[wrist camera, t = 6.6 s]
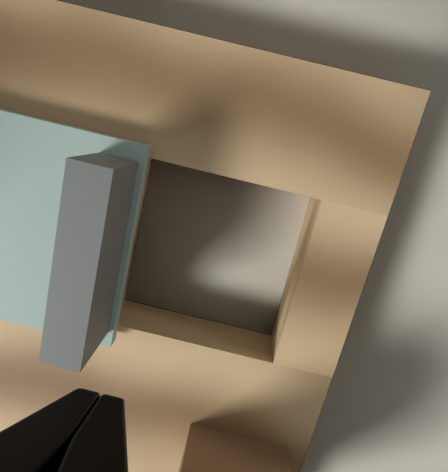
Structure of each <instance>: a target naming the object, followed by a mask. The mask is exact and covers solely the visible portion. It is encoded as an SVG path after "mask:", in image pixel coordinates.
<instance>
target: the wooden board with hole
mask: <svg viewBox="0 0 448 472" xmlns="http://www.w3.org/2000/svg"><path fill="white" fill-rule="evenodd" d="M430 92H431V91H429V90H425V89H420V88H416V87H412V86H408V85H404V84H400V83H396V82H392V81H387V80H383V79H379V78H375V77H371V76H367V75H363V74H359V73H354V72H350V71H346V70H342V69H338V68H334V67H330V66H326V65H321V64H317V63H313V62H309V61H305V60H301V59H297V58H293V57H288V56H284V55H280V54H276V53H272V52H268V51H264V50H260V49H255V48H251V47H247V46H243V45H239V44H235V43H231V42H227V41H222V40H218V39H214V38H210V37H206V36H202V35H198V34H194V33H189V32H185V31H181V30H177V29H173V28H169V27H165V26H161V25H156V24H152V23H148V22H144V21H140V20H136V19H132V18H128V17H123V16H119V15H115V14H111V13H107V12H103V11H99V10H95V9H90V8H86V7H82V6H78V5H74V4H70V3H66V2H62V1H57V0H0V109H5V110H9V111H13V112H17V113H21V114H25V115H29V116H33V117H37V118H42V119H46V120H50V121H54V122H58V123H62V124H66V125H70V126H74V127H79V128H83V129H87V130H91V131H95V132H99V133H103V134H107V135H111V136H116V137H120V138H124V139H128V140H132V141H136V142H140V143H144V144H148V145H151V150H150V156H149V161H148V166H147V172H146V177H145V183H144V188H143V193H142V199H141V204H140V210H139V215H138V220H137V226H136V231H135V237H134V242H133V247H132V253H131V258H130V263H129V269H128V274H127V280H126V285H125V290H124V296H123V301H122V307H121V312H120V317H119V323H118V328H117V334H116V339H115V341H114V343H113V344H112V346H111V347H108V346H104V345H99V346H98V348H97V349H96V351H95V352H94V353H93V355H92V356H91V358H90V359H89V361H88V362H87V363H86V365H85V366H84V368H83V369H82V371H81V372H75V371H71V370H67V369H63V368H59V367H55V366H51V365H47V364H43V363H39V356H40V348H41V341H42V333H43V331H42V330H38V329H34V328H30V327H26V326H22V325H18V324H14V323H10V322H6V321H2V320H0V431H2V430H4V429H6V428H8V427H9V426H11V425H13V424H15V423H16V422H18V421H20V420H22V419H24V418H25V417H27V416H29V415H31V414H32V413H34V412H36V411H38V410H40V409H41V408H43V407H45V406H47V405H48V404H50V403H52V402H54V401H56V400H57V399H59V398H61V397H63V396H64V395H66V394H68V393H70V392H72V391H73V390H75V389H78V388H83V389H87V390H91V391H95V392H98V393H99V394H100V396H101V395H104V394H107V395H111V396H115V397H119V398H122V399H124V402H125V418H126V436H127V455H128V472H178V471H179V467H180V463H181V459H182V456H183V452H184V448H185V444H186V440H187V436H188V432H189V428H190V424H193V425H197V426H201V427H206V428H210V429H214V430H218V431H222V432H226V433H230V434H234V435H238V436H242V437H246V438H250V439H255V440H259V441H263V442H267V443H271V444H275V445H279V446H283V447H287V448H289V455H290V463H291V472H300V470H301V467H302V464H303V461H304V458H305V455H306V453H307V450H308V447H309V444H310V441H311V438H312V435H313V432H314V429H315V426H316V424H317V421H318V418H319V415H320V412H321V409H322V406H323V403H324V400H325V397H326V394H327V392H328V389H329V386H330V383H331V380H332V377H333V374H334V371H335V368H336V365H337V362H338V360H339V357H340V354H341V351H342V348H343V345H344V342H345V339H346V336H347V333H348V330H349V328H350V325H351V322H352V319H353V316H354V313H355V310H356V307H357V304H358V301H359V298H360V296H361V293H362V290H363V287H364V284H365V281H366V278H367V275H368V272H369V269H370V266H371V264H372V261H373V258H374V255H375V252H376V249H377V246H378V243H379V240H380V237H381V234H382V232H383V229H384V226H385V223H386V220H387V217H388V214H389V211H390V208H391V205H392V203H393V200H394V197H395V194H396V191H397V188H398V185H399V182H400V179H401V176H402V173H403V171H404V168H405V165H406V162H407V159H408V156H409V153H410V150H411V147H412V144H413V141H414V139H415V136H416V133H417V130H418V127H419V124H420V121H421V118H422V115H423V112H424V109H425V107H426V104H427V101H428V98H429V95H430ZM152 159H156V160H160V161H164V162H168V163H172V164H176V165H180V166H184V167H188V168H193V169H197V170H201V171H205V172H209V173H213V174H217V175H221V176H225V177H230V178H234V179H238V180H242V181H246V182H250V183H254V184H258V185H262V186H267V187H271V188H275V189H279V190H283V191H287V192H291V193H295V194H299V195H304V196H308V197H311V199H310V203H309V206H308V210H307V213H306V216H305V220H304V223H303V227H302V230H301V234H300V237H299V240H298V244H297V247H296V251H295V254H294V258H293V261H292V264H291V268H290V271H289V275H288V278H287V282H286V285H285V288H284V292H283V295H282V299H281V302H280V306H279V309H278V312H277V316H276V319H275V323H274V326H273V330H272V333H271V336H270V335H266V334H262V333H258V332H254V331H250V330H246V329H242V328H238V327H234V326H229V325H225V324H221V323H217V322H213V321H209V320H205V319H201V318H197V317H193V316H189V315H184V314H180V313H176V312H172V311H168V310H164V309H160V308H156V307H152V306H148V305H144V304H139V303H135V302H131V301H127V300H125V299H126V293H127V288H128V283H129V277H130V272H131V266H132V261H133V256H134V250H135V245H136V240H137V234H138V229H139V224H140V218H141V213H142V208H143V202H144V197H145V192H146V186H147V181H148V176H149V170H150V165H151V160H152Z"/></svg>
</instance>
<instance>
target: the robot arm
mask: <svg viewBox="0 0 448 472" xmlns="http://www.w3.org/2000/svg"><path fill="white" fill-rule="evenodd" d="M0 472H128V455H127V436H126V418H125V402H124V399H122V398H119V397H115V396H111V395H107V394H104V395H101V396H100V394H99V393H98V392H95V391H91V390H87V389H83V388H78V389H75V390H73V391H72V392H70V393H68V394H66V395H64V396H63V397H61V398H59V399H57V400H56V401H54V402H52V403H50V404H48V405H47V406H45V407H43V408H41V409H40V410H38V411H36V412H34V413H32V414H31V415H29V416H27V417H25V418H24V419H22V420H20V421H18V422H16V423H15V424H13V425H11V426H9V427H8V428H6V429H4V430H2V431H0Z"/></svg>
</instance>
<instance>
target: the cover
mask: <svg viewBox="0 0 448 472" xmlns="http://www.w3.org/2000/svg"><path fill="white" fill-rule="evenodd" d="M150 150H151V145H148V144H144V143H140V142H136V141H132V140H128V139H124V138H120V137H116V136H111V135H107V134H103V133H99V132H95V131H91V130H87V129H83V128H79V127H74V126H70V125H66V124H62V123H58V122H54V121H50V120H46V119H42V118H37V117H33V116H29V115H25V114H21V113H17V112H13V111H9V110H5V109H0V320H2V321H6V322H10V323H14V324H18V325H22V326H26V327H30V328H34V329H38V330H42V331H43V333H42V341H41V348H40V356H39V363H43V364H47V365H51V366H55V367H59V368H63V369H67V370H71V371H75V372H81V371H82V369H83V368H84V366H85V365H86V363H87V362H88V361H89V359H90V358H91V356H92V355H93V353H94V352H95V351H96V349H97V348H98V346H99V345H104V346H108V347H111V346H112V344H113V343H114V341H115V339H116V334H117V328H118V323H119V317H120V312H121V307H122V301H123V296H124V290H125V285H126V280H127V274H128V269H129V263H130V258H131V253H132V247H133V242H134V237H135V231H136V226H137V220H138V215H139V210H140V204H141V199H142V193H143V188H144V183H145V177H146V172H147V166H148V161H149V156H150Z"/></svg>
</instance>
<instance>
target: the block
mask: <svg viewBox="0 0 448 472" xmlns="http://www.w3.org/2000/svg"><path fill="white" fill-rule="evenodd" d="M178 472H291V463H290V455H289V448H287V447H283V446H279V445H275V444H271V443H267V442H263V441H259V440H255V439H250V438H246V437H242V436H238V435H234V434H230V433H226V432H222V431H218V430H214V429H210V428H206V427H201V426H197V425H193V424H190V428H189V432H188V436H187V440H186V444H185V448H184V452H183V456H182V459H181V463H180V467H179V471H178Z"/></svg>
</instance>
